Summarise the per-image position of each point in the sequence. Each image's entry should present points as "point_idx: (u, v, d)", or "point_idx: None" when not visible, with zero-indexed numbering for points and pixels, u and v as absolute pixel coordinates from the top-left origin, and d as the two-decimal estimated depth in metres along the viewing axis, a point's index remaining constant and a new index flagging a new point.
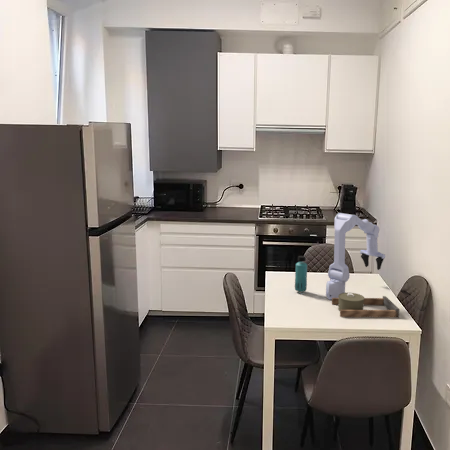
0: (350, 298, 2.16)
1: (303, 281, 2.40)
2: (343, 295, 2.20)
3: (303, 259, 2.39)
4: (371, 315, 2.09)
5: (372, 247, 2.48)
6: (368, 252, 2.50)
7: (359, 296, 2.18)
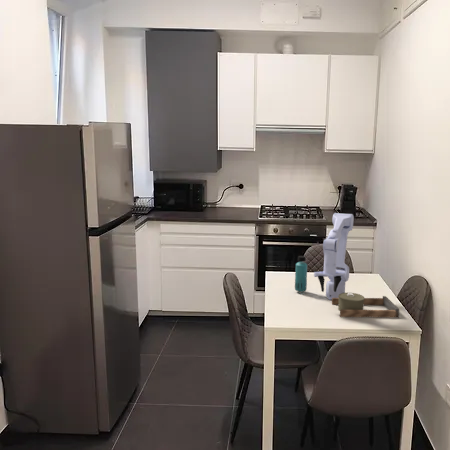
0: (350, 298, 2.16)
1: (303, 281, 2.40)
2: (343, 295, 2.20)
3: (303, 259, 2.39)
4: (371, 315, 2.09)
5: None
6: None
7: (359, 296, 2.18)
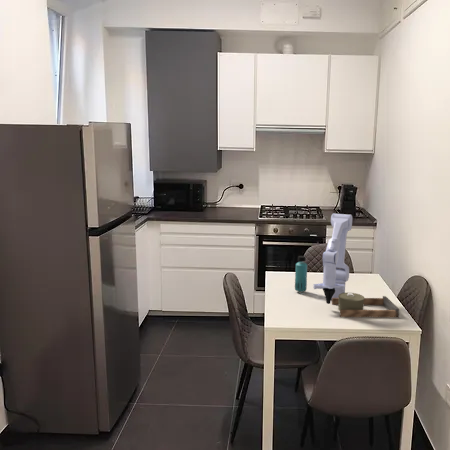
0: (350, 298, 2.16)
1: (303, 281, 2.40)
2: (343, 295, 2.20)
3: (303, 259, 2.39)
4: (371, 315, 2.09)
5: None
6: None
7: (359, 296, 2.18)
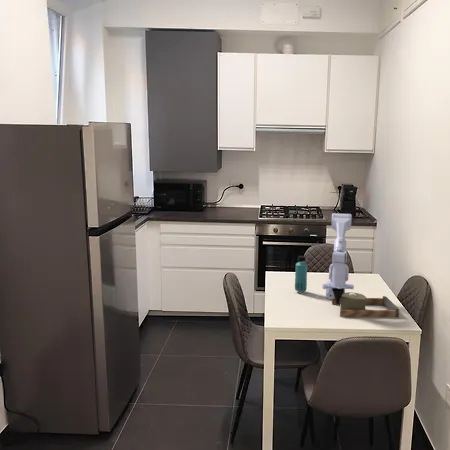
0: (352, 298, 2.16)
1: (303, 281, 2.40)
2: (345, 295, 2.20)
3: (303, 259, 2.39)
4: (371, 315, 2.09)
5: None
6: None
7: (361, 296, 2.18)
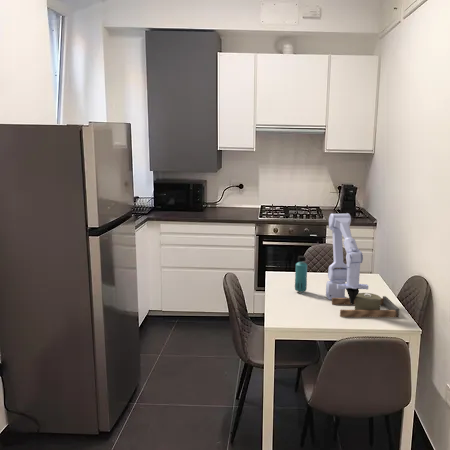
0: (366, 298, 2.15)
1: (303, 281, 2.40)
2: (360, 295, 2.20)
3: (303, 259, 2.39)
4: (371, 315, 2.09)
5: None
6: None
7: (376, 296, 2.17)
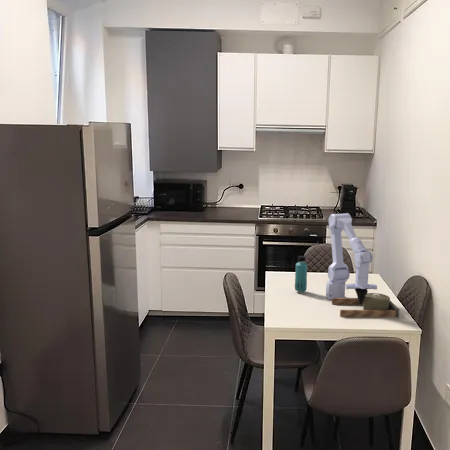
0: (375, 298, 2.15)
1: (303, 281, 2.40)
2: (369, 295, 2.20)
3: (303, 259, 2.39)
4: (371, 315, 2.09)
5: None
6: None
7: (385, 297, 2.17)
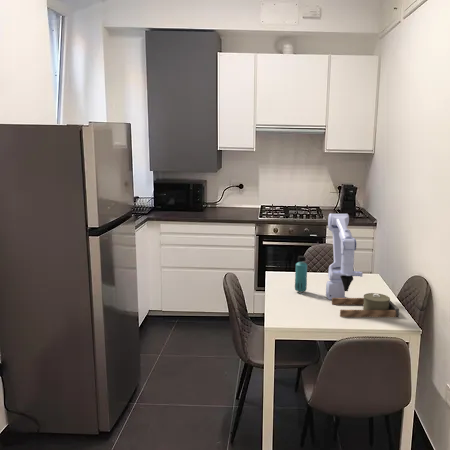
0: (375, 298, 2.15)
1: (303, 281, 2.40)
2: (369, 295, 2.20)
3: (303, 259, 2.39)
4: (371, 315, 2.09)
5: None
6: None
7: (385, 297, 2.17)
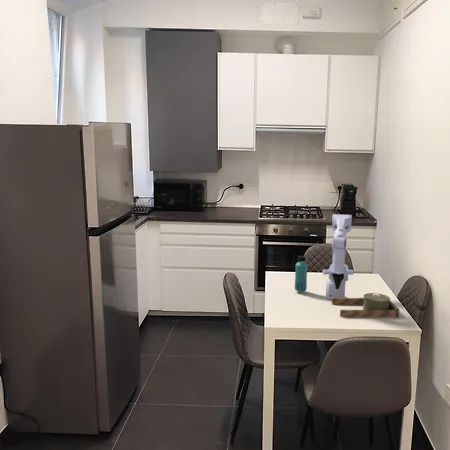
0: (375, 298, 2.15)
1: (303, 281, 2.40)
2: (369, 295, 2.20)
3: (303, 259, 2.39)
4: (371, 315, 2.09)
5: None
6: None
7: (385, 297, 2.17)
